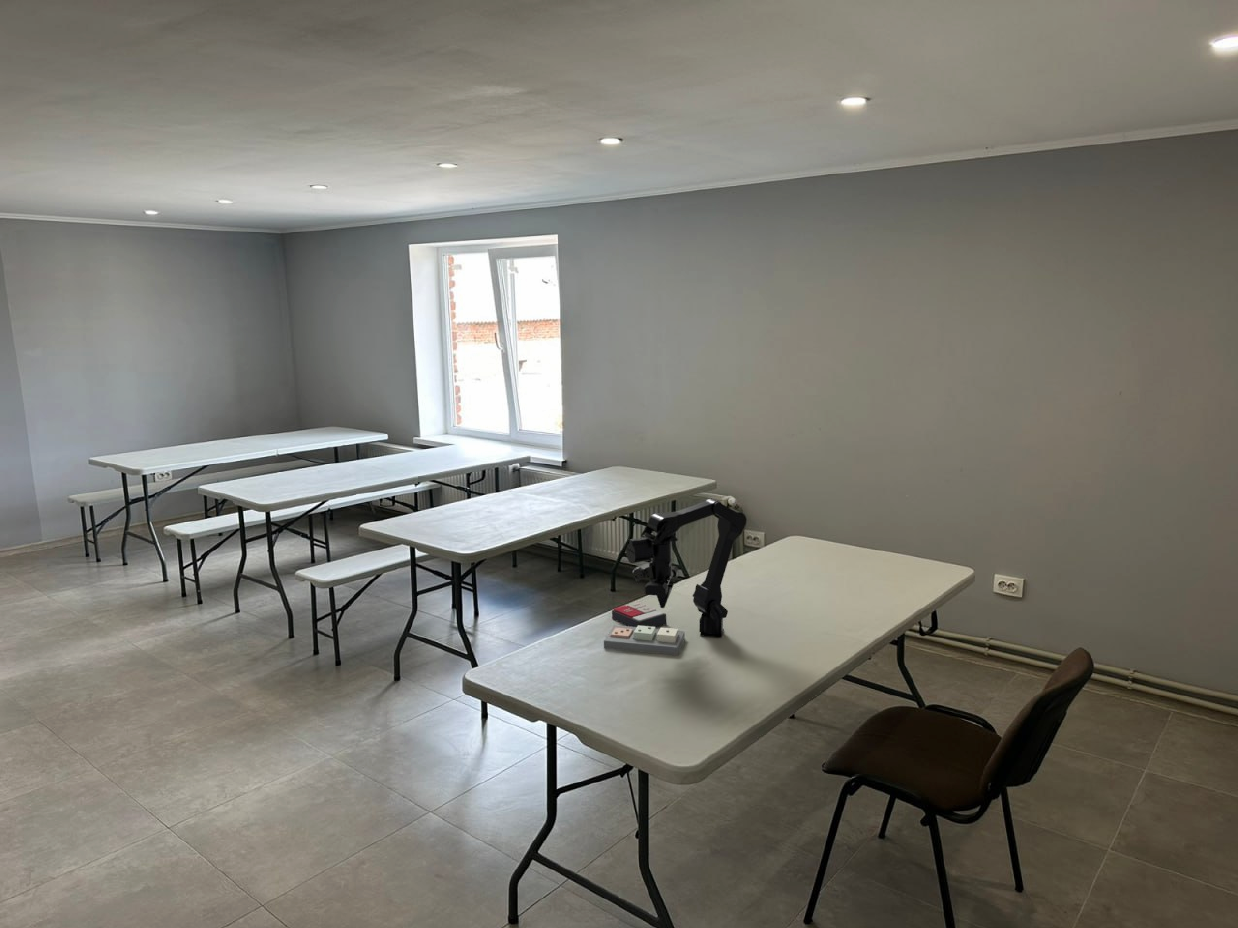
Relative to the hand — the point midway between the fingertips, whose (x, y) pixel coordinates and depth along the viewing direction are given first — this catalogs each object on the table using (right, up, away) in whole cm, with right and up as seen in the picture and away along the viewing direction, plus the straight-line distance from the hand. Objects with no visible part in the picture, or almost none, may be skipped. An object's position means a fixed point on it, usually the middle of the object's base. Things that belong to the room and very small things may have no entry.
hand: (662, 607), depth 237 cm
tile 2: (-5, -9, +3) cm, 11 cm away
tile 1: (+2, -10, +1) cm, 10 cm away
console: (-5, -11, +3) cm, 13 cm away
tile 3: (-12, -10, +5) cm, 17 cm away
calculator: (-6, -9, +21) cm, 23 cm away
